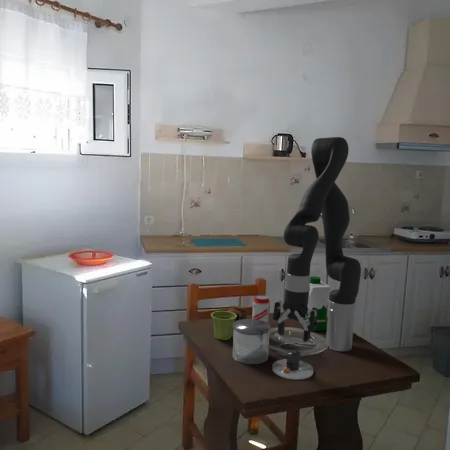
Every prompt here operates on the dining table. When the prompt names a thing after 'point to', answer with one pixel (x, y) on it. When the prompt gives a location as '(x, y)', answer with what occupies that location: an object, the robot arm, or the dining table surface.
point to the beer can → (261, 308)
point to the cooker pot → (251, 341)
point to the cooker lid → (292, 367)
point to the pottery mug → (238, 313)
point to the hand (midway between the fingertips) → (293, 337)
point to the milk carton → (318, 302)
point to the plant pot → (223, 324)
